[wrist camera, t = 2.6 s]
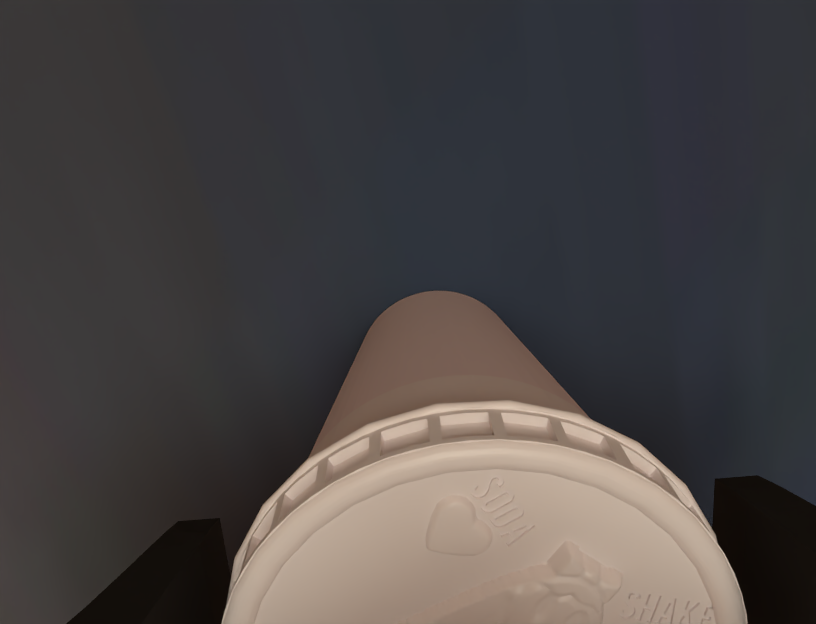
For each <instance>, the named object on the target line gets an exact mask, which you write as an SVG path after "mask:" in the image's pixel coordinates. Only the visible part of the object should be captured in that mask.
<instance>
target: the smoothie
mask: <svg viewBox="0 0 816 624" xmlns="http://www.w3.org/2000/svg"><path fill="white" fill-rule="evenodd" d="M221 624H748V622H747V613H746V609H745V605H744V601H743V596H742V593H741V590H740V587H739V584H738V582H737V579H736V576H735V573H734V571H733V569H732V568H731V566H730V564H729V562H728V560H727V558H726V556H725V554H724V552H723V551H722V549H721V548H720V546H719V545H718V543H717V538H716V535H715V533H714V531H713V530H712V528H711V526H710V525H709V523H708V521H707V520H706V518H705V516H704V514H703V513H702V511H701V509H700V508H699V506H698V504H697V503H696V501H695V499H694V498H693V496H692V494H691V493H690V491H689V489H688V487H687V486H686V484H685V483H683V482H682V481H681V480H680V479H679V478H678V477H677V476H676V475H675V474H673V473H672V472H671V471H670V470H669V469H668V468H667V467H666V466H664V465H663V464H662V463H661V462H660V461H659V460H658V459H657V458H656V457H654V456H653V455H652V454H651V453H650V452H649V451H648V450H647V449H646V448H644V447H643V446H642V445H641V444H640V443H639V442H637V441H635V440H633V439H631V438H629V437H626V436H624V435H622V434H620V433H618V432H616V431H614V430H612V429H610V428H608V427H606V426H604V425H602V424H600V423H598V422H596V421H593V420H591V419H590V418H589V417H588V415H587V414H586V413H585V412H584V411H583V410H582V409H581V408H580V407H579V406H578V404H577V403H576V402H575V401H574V400H573V399H572V398H571V397H570V396H569V394H568V393H567V392H566V391H565V390H564V389H563V388H562V387H561V386H560V385H559V383H558V382H557V381H556V380H555V379H554V378H553V377H552V376H551V375H550V373H549V372H548V371H547V370H546V369H545V368H544V367H543V366H542V365H541V363H540V362H539V361H538V360H537V359H536V358H535V357H534V356H533V355H532V354H531V352H530V351H529V350H528V349H527V348H526V347H525V346H524V345H523V344H522V342H521V341H520V340H519V339H518V338H517V337H516V336H515V335H514V334H513V333H512V331H511V330H510V329H509V328H508V327H507V326H506V325H505V324H504V323H503V321H502V320H501V319H500V318H499V317H498V316H497V315H496V314H495V313H494V312H493V311H492V310H491V309H490V308H488V307H487V306H486V305H484V304H483V303H481V302H480V301H478V300H476V299H474V298H472V297H469V296H466V295H464V294H460V293H456V292H450V291H428V292H422V293H418V294H414V295H411V296H408V297H406V298H404V299H402V300H400V301H398V302H396V303H394V304H393V305H392V306H390V307H389V308H387V309H386V310H385V311H384V312H383V313H382V314H381V315H380V316H379V317H378V318H377V319H376V320H375V322H374V323H373V324H372V326H371V327H370V329H369V330H368V332H367V334H366V336H365V338H364V340H363V343H362V345H361V347H360V349H359V351H358V353H357V355H356V357H355V360H354V362H353V364H352V366H351V368H350V370H349V372H348V375H347V377H346V379H345V381H344V383H343V385H342V387H341V389H340V392H339V394H338V396H337V398H336V400H335V402H334V404H333V406H332V409H331V411H330V413H329V415H328V417H327V419H326V421H325V423H324V426H323V428H322V430H321V432H320V434H319V436H318V438H317V441H316V443H315V445H314V447H313V449H312V451H311V453H310V455H309V458H308V459H307V460H306V461H305V462H304V463H303V464H302V465H301V466H300V467H299V468H298V469H297V470H296V471H295V472H294V473H293V474H292V475H291V476H290V477H289V478H288V479H287V480H286V481H285V482H284V483H283V484H282V485H281V486H280V488H279V489H278V490H277V491H276V492H275V493H274V494H273V495H272V496H271V497H270V498H269V499H268V500H267V501H266V502H265V503H264V504H263V505H262V507H261V509H260V511H259V513H258V515H257V517H256V519H255V520H254V522H253V524H252V526H251V528H250V530H249V532H248V534H247V535H246V537H245V539H244V541H243V543H242V545H241V547H240V549H239V550H238V552H237V554H236V556H235V558H234V564H233V570H232V575H231V581H230V586H229V592H228V597H227V603H226V608H225V611H224V615H223V619H222V623H221Z"/></svg>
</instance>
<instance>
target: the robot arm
mask: <svg viewBox="0 0 816 624" xmlns="http://www.w3.org/2000/svg"><path fill="white" fill-rule="evenodd" d="M712 530H713V531H714V533H715V535H716V538H717V543H718V545H719V546H720V548H721V549H722V551H723V552H724V554H725V556H726V558H727V560H728V562H729V564H730V566H731V568H732V569H733V571H734V573H735V576H736V579H737V582H738V584H739V587H740V590H741V593H742V596H743V601H744V605H745V609H746V613H747V622H748V624H816V506H815V505H813V504H811V503H809V502H807V501H806V500H804V499H802V498H800V497H798V496H797V495H795V494H793V493H791V492H789V491H788V490H786V489H784V488H782V487H780V486H778V485H776V484H774V483H772V482H770V481H768V480H766V479H764V478H762V477H760V476H745V477H732V478H719V479H715V489H714V507H713V526H712ZM230 581H231V577H230V572H229V567H228V561H227V556H226V550H225V545H224V539H223V534H222V529H221V523H220V518H215V519H202V520H190V521H178V522H177V523H176V524H175V525H173V526H172V527H171V528H170V529H169V530H168V531H166V532H165V533H164V534H163V535H162V536H161V537H160V538H159V539H158V540H157V541H156V542H155V543H154V544H152V545H151V546H150V547H149V548H148V549H147V550H146V551H145V552H144V553H143V554H142V555H141V556H140V557H139V558H138V559H137V560H136V561H135V562H134V563H133V564H131V565H130V566H129V567H128V568H127V569H126V570H125V571H124V572H123V573H122V574H121V575H120V576H119V577H118V578H117V579H115V580H114V581H113V582H112V583H111V584H110V585H109V586H108V587H107V588H106V589H105V590H104V591H103V592H101V593H100V594H99V595H98V596H97V597H96V598H95V599H94V600H93V601H92V602H91V603H90V604H88V605H87V606H86V607H85V608H84V609H83V610H82V611H81V612H80V613H78V614H77V615H76V616H75V617H74V618H72V619H71V620H70V621H69V622H68V623H67V624H221V623H222V619H223V615H224V611H225V608H226V603H227V597H228V592H229V586H230Z"/></svg>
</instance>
